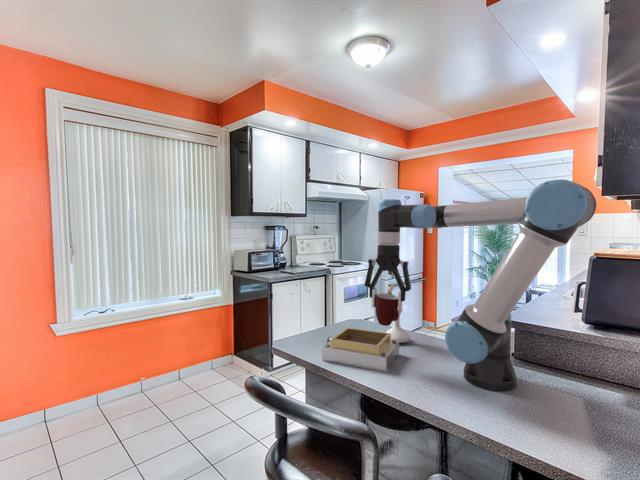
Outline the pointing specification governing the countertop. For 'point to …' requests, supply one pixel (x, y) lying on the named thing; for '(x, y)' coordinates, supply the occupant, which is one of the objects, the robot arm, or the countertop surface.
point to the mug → (386, 308)
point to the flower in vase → (397, 327)
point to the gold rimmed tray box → (362, 349)
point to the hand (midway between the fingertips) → (386, 308)
